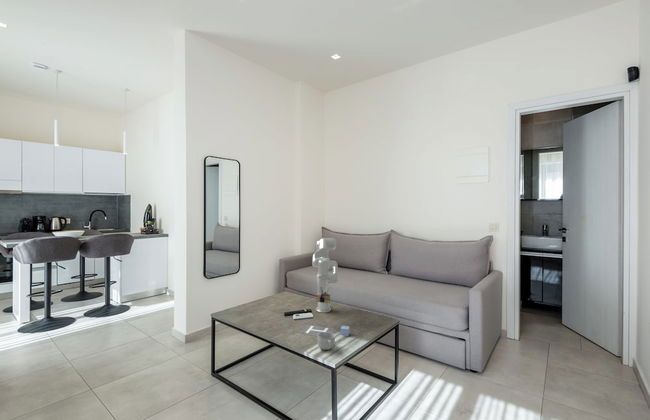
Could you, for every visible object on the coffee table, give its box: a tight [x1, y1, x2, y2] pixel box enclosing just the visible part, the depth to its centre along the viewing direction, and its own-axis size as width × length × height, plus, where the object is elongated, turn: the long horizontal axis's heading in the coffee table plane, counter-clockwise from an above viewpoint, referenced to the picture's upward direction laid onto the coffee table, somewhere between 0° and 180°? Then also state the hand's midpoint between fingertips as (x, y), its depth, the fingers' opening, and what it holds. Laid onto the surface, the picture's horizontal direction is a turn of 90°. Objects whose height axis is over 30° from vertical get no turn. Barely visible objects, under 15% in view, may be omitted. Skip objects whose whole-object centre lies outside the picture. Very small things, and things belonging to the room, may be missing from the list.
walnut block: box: [315, 292, 331, 304], centre depth 228 cm, size 5×9×5 cm, turn 73°
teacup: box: [317, 332, 336, 351], centre depth 189 cm, size 14×11×8 cm
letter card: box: [299, 324, 335, 336], centre depth 216 cm, size 14×21×1 cm, turn 73°
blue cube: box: [340, 325, 350, 337], centre depth 210 cm, size 5×5×5 cm
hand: (323, 300), depth 228 cm, fingers closed on walnut block, 5 cm apart
